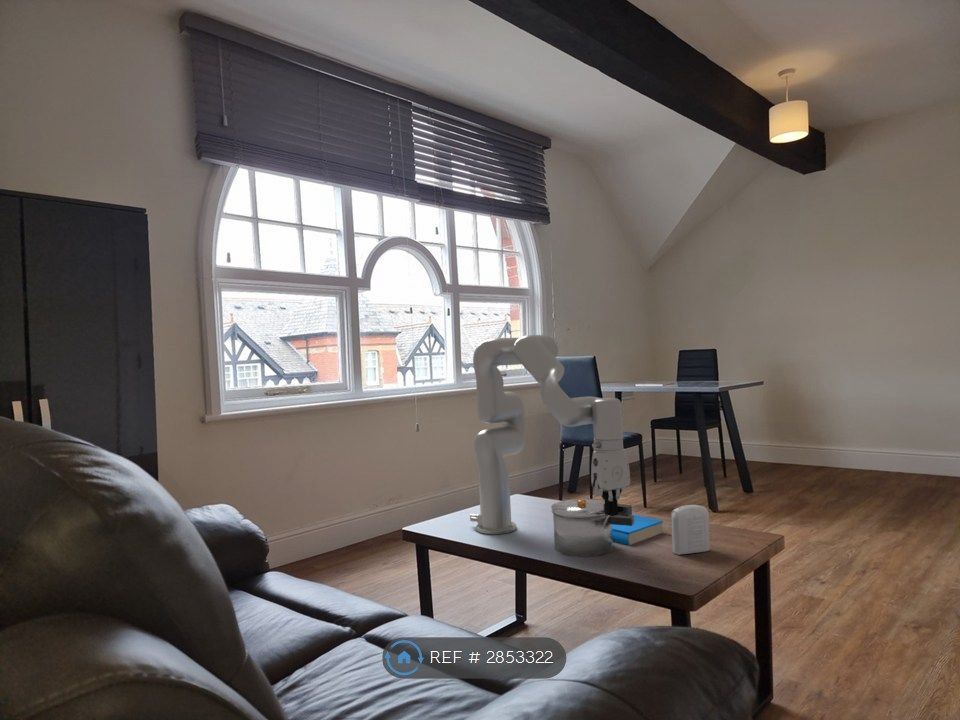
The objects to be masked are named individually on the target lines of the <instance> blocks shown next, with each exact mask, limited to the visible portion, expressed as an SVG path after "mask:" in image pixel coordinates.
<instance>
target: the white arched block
mask: <svg viewBox="0 0 960 720" xmlns="http://www.w3.org/2000/svg"><path fill="white" fill-rule="evenodd" d="M709 514H710V513H709V511H708V508H707V507H706V506H703V505H698V504H686V505H682V506H679V507H677V508H674V509H673V510H672V511H671V513H670V522H671V525H670V527H671V529H670V530H671V549H672V553H673V554H675V555H679V556H680V555H687V554H688V555H689V554H695V553H704V552H709V551H710V550H711V547H710V546H711V545H710V544H711V543H710V515H709Z"/></svg>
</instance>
